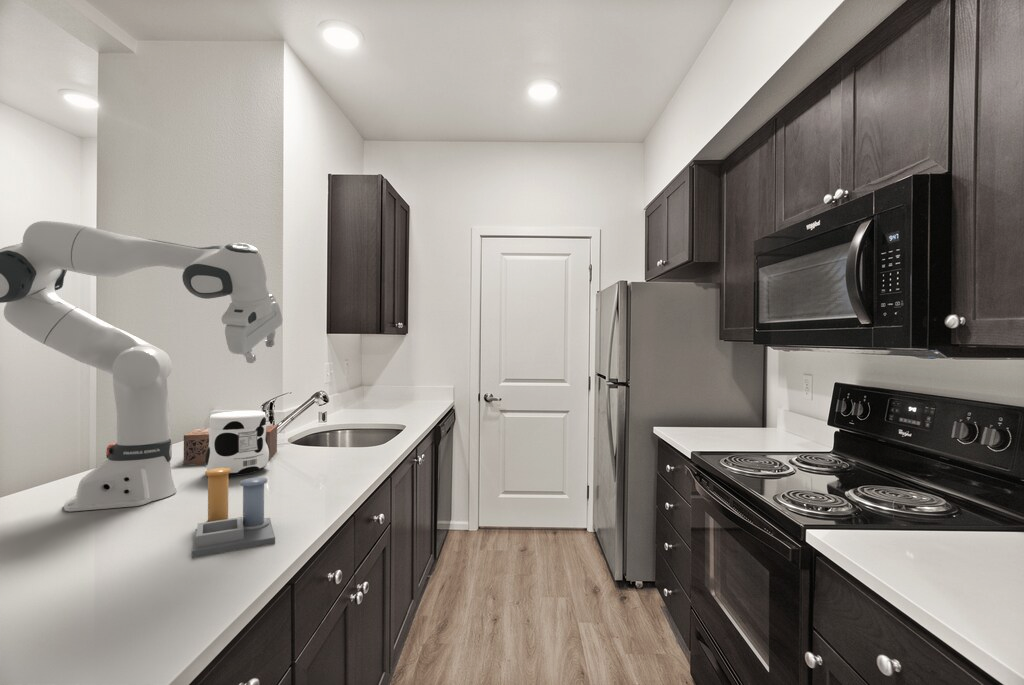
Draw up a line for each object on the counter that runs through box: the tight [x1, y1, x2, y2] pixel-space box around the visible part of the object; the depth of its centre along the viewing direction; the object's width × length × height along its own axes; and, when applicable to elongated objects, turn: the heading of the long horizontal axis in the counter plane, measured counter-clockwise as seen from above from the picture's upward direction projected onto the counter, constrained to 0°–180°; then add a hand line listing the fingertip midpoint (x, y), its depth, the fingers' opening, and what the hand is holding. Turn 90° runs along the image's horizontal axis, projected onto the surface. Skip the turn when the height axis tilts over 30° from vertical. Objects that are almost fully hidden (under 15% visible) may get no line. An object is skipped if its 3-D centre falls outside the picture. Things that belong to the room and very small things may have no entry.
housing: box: [191, 476, 276, 559], centre depth 103 cm, size 14×13×11 cm
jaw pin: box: [204, 468, 231, 522], centre depth 114 cm, size 5×5×11 cm
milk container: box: [205, 410, 270, 477], centre depth 156 cm, size 17×17×18 cm
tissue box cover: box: [183, 424, 278, 466], centre depth 175 cm, size 26×14×10 cm, turn 106°
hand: (261, 353), depth 137 cm, fingers open, 8 cm apart
